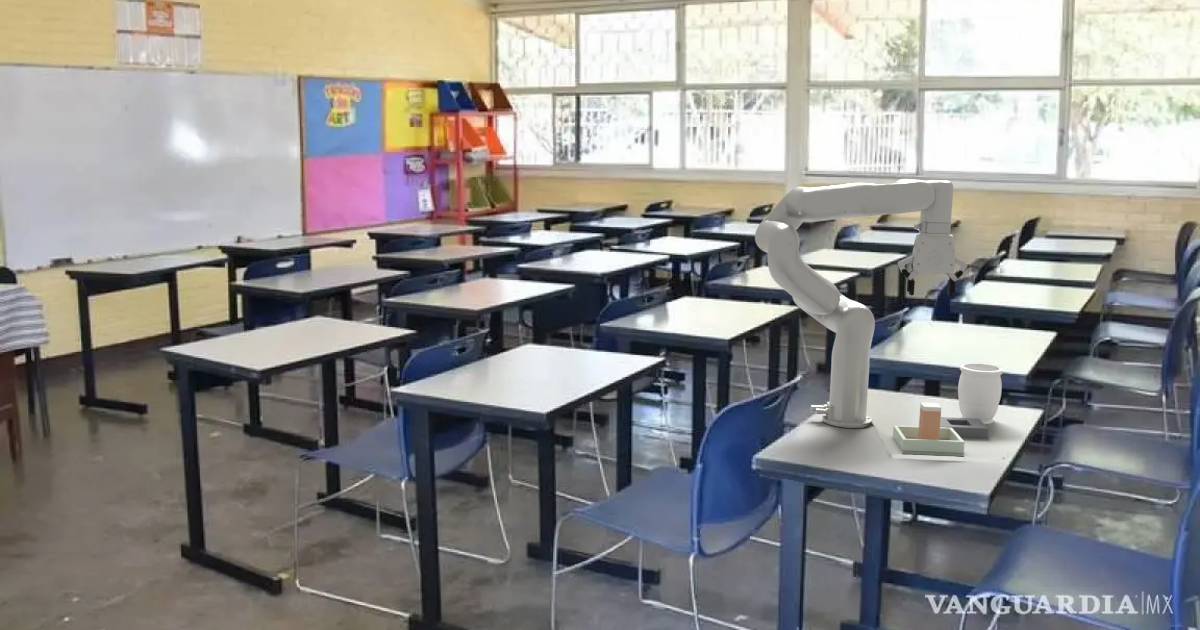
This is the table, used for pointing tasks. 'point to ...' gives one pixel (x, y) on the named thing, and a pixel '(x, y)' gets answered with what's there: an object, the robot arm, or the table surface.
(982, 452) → the table surface
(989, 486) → the table surface
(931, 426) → the plug
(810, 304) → the robot arm
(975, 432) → the grey block
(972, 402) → the jar
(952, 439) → the tray
